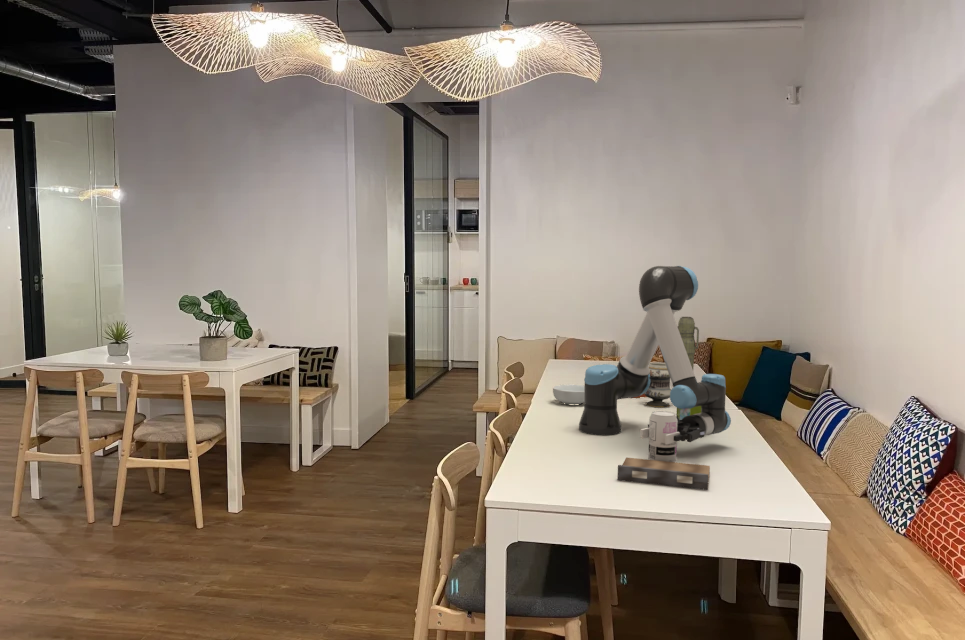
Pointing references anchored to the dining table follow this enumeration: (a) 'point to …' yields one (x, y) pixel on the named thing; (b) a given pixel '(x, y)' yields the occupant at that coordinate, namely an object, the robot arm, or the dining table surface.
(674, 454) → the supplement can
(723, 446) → the dining table surface
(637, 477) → the shelf
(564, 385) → the cereal bowl
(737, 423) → the dining table surface
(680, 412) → the tea box
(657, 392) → the apothecary jar
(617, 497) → the dining table surface
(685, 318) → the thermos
